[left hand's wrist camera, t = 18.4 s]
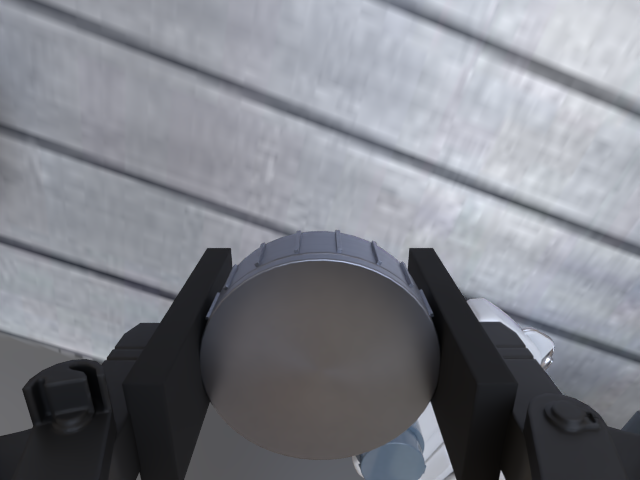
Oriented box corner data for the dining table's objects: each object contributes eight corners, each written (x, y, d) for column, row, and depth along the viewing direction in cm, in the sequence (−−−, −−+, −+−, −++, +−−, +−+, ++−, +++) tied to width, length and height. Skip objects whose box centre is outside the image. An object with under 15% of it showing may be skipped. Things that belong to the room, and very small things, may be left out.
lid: (450, 381, 13) (470, 427, 11) (262, 434, 14) (254, 485, 12) (392, 196, 11) (405, 219, 9) (175, 271, 12) (151, 305, 10)
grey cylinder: (338, 342, 45) (349, 489, 29) (348, 301, 43) (364, 434, 28) (384, 349, 45) (419, 498, 30) (395, 309, 44) (438, 444, 28)
